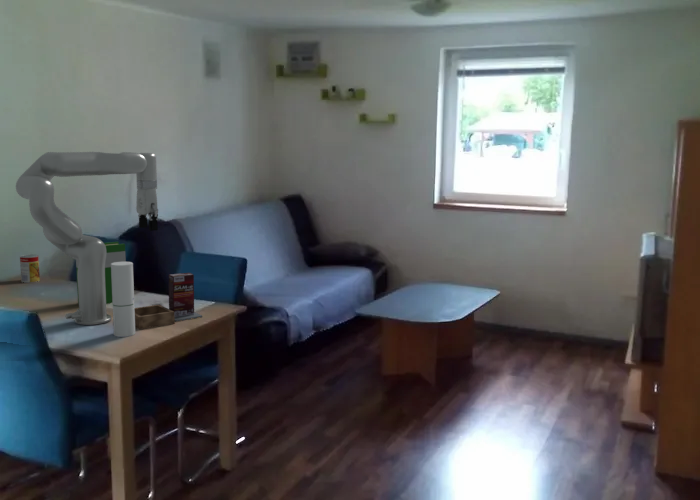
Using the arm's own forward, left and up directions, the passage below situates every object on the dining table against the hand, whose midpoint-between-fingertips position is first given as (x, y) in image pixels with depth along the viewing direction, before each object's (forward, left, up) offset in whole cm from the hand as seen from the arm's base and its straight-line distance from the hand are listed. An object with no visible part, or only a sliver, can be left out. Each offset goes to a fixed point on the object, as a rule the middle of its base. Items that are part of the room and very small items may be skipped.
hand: (148, 228), depth 268 cm
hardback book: (-11, +23, -33) cm, 41 cm away
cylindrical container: (-21, -27, -32) cm, 47 cm away
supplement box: (+5, -17, -32) cm, 37 cm away
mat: (+6, -17, -32) cm, 37 cm away
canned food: (-24, +82, -32) cm, 91 cm away
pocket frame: (-8, -18, -32) cm, 38 cm away
